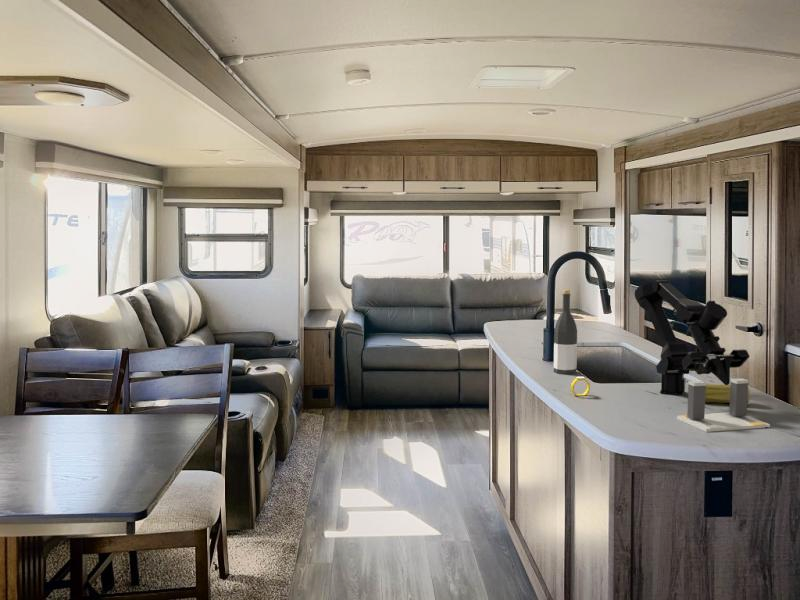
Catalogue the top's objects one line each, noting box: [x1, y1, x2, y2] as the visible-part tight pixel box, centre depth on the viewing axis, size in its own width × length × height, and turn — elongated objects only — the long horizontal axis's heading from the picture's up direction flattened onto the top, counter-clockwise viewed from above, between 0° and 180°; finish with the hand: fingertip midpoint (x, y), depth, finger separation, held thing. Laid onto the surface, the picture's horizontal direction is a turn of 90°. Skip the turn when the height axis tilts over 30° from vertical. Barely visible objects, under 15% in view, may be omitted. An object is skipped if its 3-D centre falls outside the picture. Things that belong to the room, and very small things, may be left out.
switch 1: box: [686, 380, 707, 420], centre depth 199 cm, size 2×4×10 cm
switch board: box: [677, 411, 771, 433], centre depth 198 cm, size 13×19×1 cm
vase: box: [705, 383, 750, 406], centre depth 219 cm, size 6×6×14 cm
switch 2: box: [728, 377, 749, 417], centre depth 201 cm, size 2×4×10 cm
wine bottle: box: [553, 289, 578, 375], centre depth 263 cm, size 8×8×30 cm
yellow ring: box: [570, 376, 591, 397], centre depth 230 cm, size 6×3×6 cm, turn 103°
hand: (727, 384), depth 206 cm, fingers closed
